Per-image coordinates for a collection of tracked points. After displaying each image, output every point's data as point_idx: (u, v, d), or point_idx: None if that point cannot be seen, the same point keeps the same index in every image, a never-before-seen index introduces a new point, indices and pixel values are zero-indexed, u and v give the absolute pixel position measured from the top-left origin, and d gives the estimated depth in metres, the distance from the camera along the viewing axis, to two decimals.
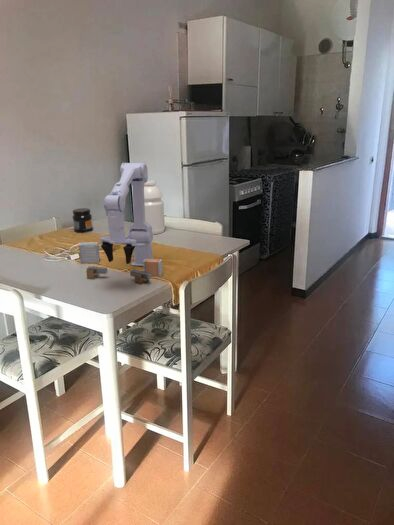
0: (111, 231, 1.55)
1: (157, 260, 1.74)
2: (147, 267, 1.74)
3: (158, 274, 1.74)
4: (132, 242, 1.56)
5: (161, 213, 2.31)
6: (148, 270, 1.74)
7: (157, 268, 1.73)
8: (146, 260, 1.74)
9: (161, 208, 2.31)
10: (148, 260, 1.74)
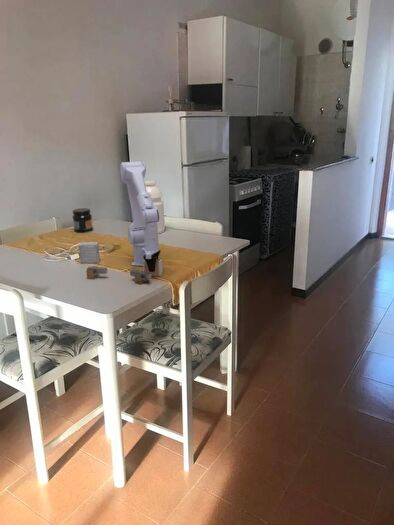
0: None
1: (157, 260, 1.74)
2: (147, 267, 1.74)
3: (158, 274, 1.74)
4: None
5: (161, 213, 2.31)
6: (148, 270, 1.74)
7: (157, 268, 1.73)
8: None
9: (161, 208, 2.31)
10: None
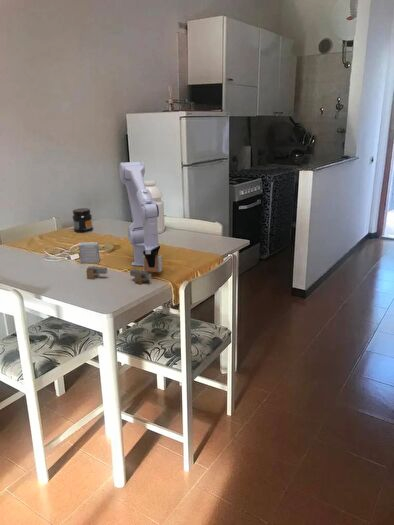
0: None
1: (157, 256, 1.73)
2: (147, 263, 1.73)
3: (158, 270, 1.73)
4: None
5: (161, 213, 2.31)
6: (148, 266, 1.74)
7: (157, 263, 1.72)
8: None
9: (161, 208, 2.31)
10: None
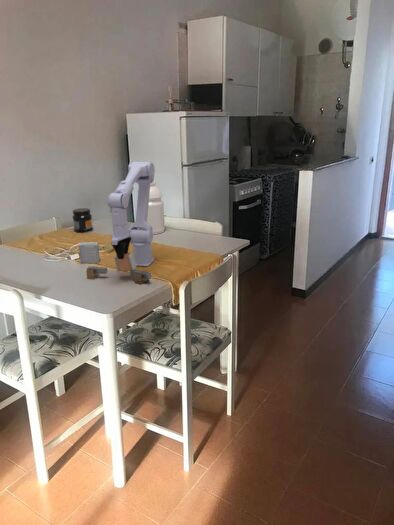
0: None
1: (128, 254, 1.69)
2: (119, 263, 1.69)
3: (131, 268, 1.69)
4: None
5: (161, 213, 2.31)
6: (120, 266, 1.70)
7: (129, 262, 1.68)
8: None
9: (161, 208, 2.31)
10: None
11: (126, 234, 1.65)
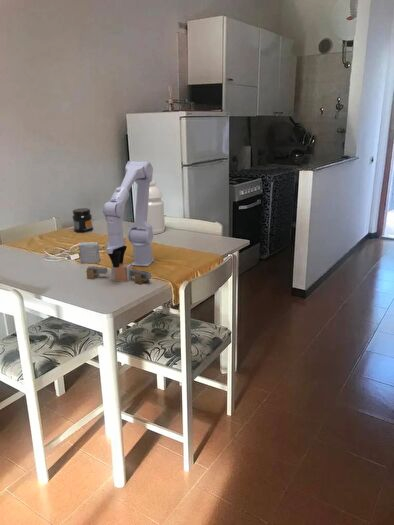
0: None
1: (126, 265, 1.70)
2: (115, 272, 1.69)
3: (127, 279, 1.69)
4: None
5: (161, 213, 2.31)
6: (117, 275, 1.70)
7: (126, 273, 1.68)
8: None
9: (161, 208, 2.31)
10: None
11: (121, 243, 1.66)
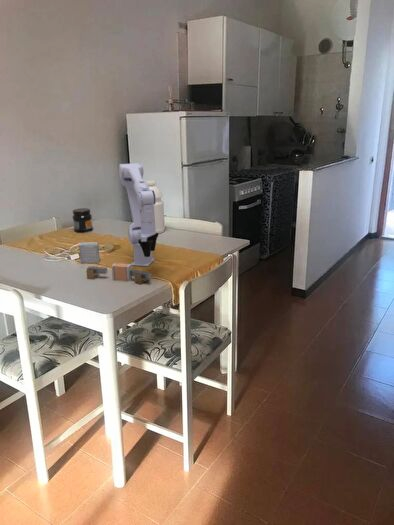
0: None
1: (126, 265, 1.70)
2: (116, 272, 1.70)
3: (127, 279, 1.69)
4: None
5: (161, 213, 2.31)
6: (117, 275, 1.70)
7: (126, 272, 1.69)
8: (115, 265, 1.70)
9: (161, 208, 2.31)
10: (117, 265, 1.70)
11: (154, 231, 1.69)
